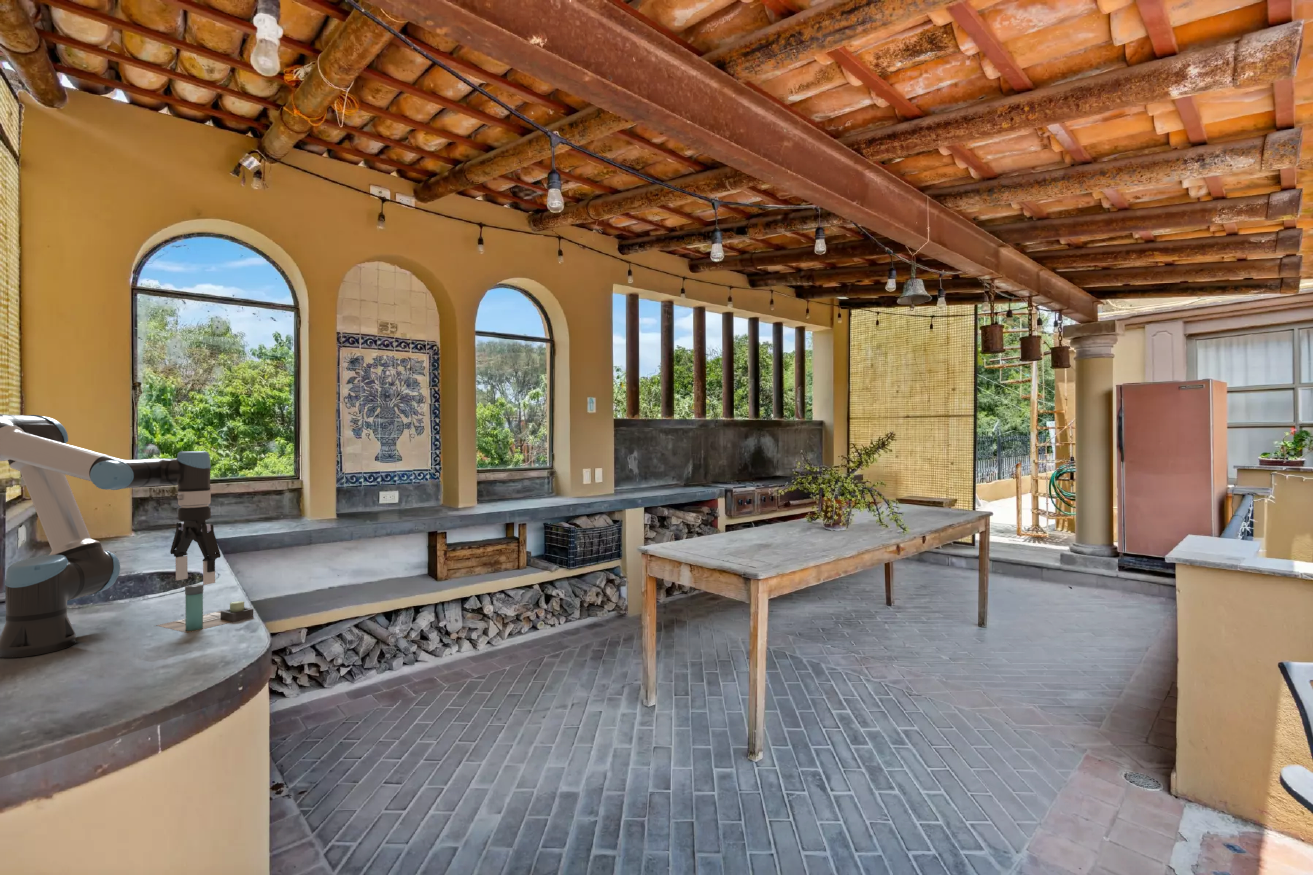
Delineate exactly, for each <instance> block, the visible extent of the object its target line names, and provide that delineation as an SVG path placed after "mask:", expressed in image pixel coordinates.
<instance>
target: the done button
mask: <svg viewBox="0 0 1313 875" xmlns="http://www.w3.org/2000/svg"><path fill="white" fill-rule="evenodd" d="M244 607H245V601H242V600H239V601H238V600H237V601H233V602H230V603H229V609H230V612H233V613H235V612H239V611H243V610H244Z"/></svg>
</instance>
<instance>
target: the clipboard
mask: <svg viewBox="0 0 1313 875" xmlns="http://www.w3.org/2000/svg"><path fill="white" fill-rule="evenodd" d="M252 618H254V608H251V607H246V606H244V610H243V611H239V612H235V613H233V612H230V608H229V609H224V610H219V611H214V612H210V613H206V614H203V628H202V629H199V630H195V631H186V630H185V618H183V619H179V620H174V621H170V622H165V623H159V624H156V625H155V626H156V627H162V628H165V629H167V630H172V631H173V630H174V631H177V632H181V633H187V634H189V633H194V632H197V631H201V630H206V629H211V628H215V627H218V626H222V625H223V626H224V625H225V624H226V625H227V624H231V623H234V622H239V621H243V620H248V619H252Z"/></svg>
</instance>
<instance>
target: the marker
mask: <svg viewBox="0 0 1313 875" xmlns="http://www.w3.org/2000/svg"><path fill="white" fill-rule="evenodd" d="M184 595H185V607H184V608H185V618H184V619H185V630H186V631H194V632H196V631H195V630H198V631H200V630H199V629H202V628H203V615H204V585H203V584H191V585H186V586H185V587H184ZM202 630H203V629H202Z"/></svg>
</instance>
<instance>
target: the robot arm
mask: <svg viewBox="0 0 1313 875" xmlns="http://www.w3.org/2000/svg"><path fill="white" fill-rule="evenodd" d="M68 442H69V435H68V431H67V430H66V427H65V426H64V425H63V424H62V423H60V421H58V420H56V419H55V418H52V417H49V416H43V415H39V414H27V415H26V414H2V413H0V462H2V461H3V462H5V461H7V462H8V465H9V467H10V468H11V469H13V470H16V471H18V472H19V473H20V475H21V478H22V479H23V482H24V484H25V487H26V490H27V492H28V494H29V496H30V500H31V502H32V505H33V507H34V509H35V512H36V514H37V516H38V518H39V522H40V524H41V527H42V529H43V532H44V534H45V536H46V539H47V542H48V543H49V546H50V548H51V552H50V553H49V554H48V555H46V554H44V555H39V556H37V557H35V556H34V557H30V558H24V559H21V560H19V561H15V562H14V563H12V564H10V565H9V566H8V567H7V569H6V573H5V578H4V579H5V580H4V585H5V586H4V589H5V595H4V596H5V623H4V627H3V628H2V631H1V633H0V658H2V659H3V658H4V659H5V658H7V659H8V658H9V659H10V658H11V659H13V658H14V659H15V658H24V657H25V658H26V657H31V656H32V657H33V656H39V655H44V654H49V653H52V652H57V651H61V650H64V649H67V648H70V647H72V646H74V645H75V644H76V642H77V640H76V636H77V635H76V634H77V633H76V632H75V630H74V628H73V625H72V623H71V620H70V618H69V617H68V601H71V600H75V599H79V598H82V597H86V596H93V595H96V594H99V592H103V591H106V590H108V589H109V588H111V587H112V586H113V585H114V584H115V583H116V582H117V579H118V577H119V576H120V574H121V562H120V559H119V558H118V556H117V555H116V554H115V553H113V552H111V551H109V550H104V549H103V546H102V544H101V541H99V540H96V539H93V538H92V537H91V535H90V532H89V530H88V528H87V525H86V523H85V520H84V517H83V514H82V513H81V510H80V507H79V505H78V503H77V501H76V498H75V496H74V493H73V490H72V488H71V486H70V484H69V481H68V478H67V476H70V477H73V478H77V479H80V480H81V479H82V480H85V481H88V482H91V483H92V484H93V485H95V487H96V488H98V489H100V490H107V491H108V490H109V491H110V490H111V491H117V490H124V489H131V488H132V489H133V488H144V487H145V488H146V487H155V486H177V496H176V499H177V504H178V508H177V520H178V521H179V522H176V525H175V527H176V528H175V533H174V536H173V541H172V543H171V547H170V551H169V552H170V554H171V555H173V557H175V581H182V580H183V581H184V580H187V579H189V577H188V573H189V571H188V549H189V548H190V546H191V544H192V543H193V542H195V543H197V546H198V548H199V549H200V552H201V554H202V556H203V559H202V576H203V577H202V583H203V584H202V585H203V586H206V585H211V584H215V583H216V560H217V559H218V558H221V551H220V549H219V544H218V541H217V538H216V534H215V531H214V530H215V529H214V523H206V521H207V520H210V519H211V518H212V515H211V514H212V513H211V512H212V509H211V506H210V504H211V503H212V498H211V495H212V492H211V468H212V467H211V466H212V464H211V459H210V458H211V456H210V453H209V452H207V451H206V450H203V451H202V450H200V451H188V450H187V451H179V452H178V453H177V457H176V458H152V457H151V458H142V459H123V458H118V457H116V456H115V457H114V456H111V455H109V454H105V453H101V452H96V451H93V450H90V449H87V448H83V447H79V446H76V445H71V444H68ZM179 506H180V507H179ZM193 540H194V541H193Z"/></svg>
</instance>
